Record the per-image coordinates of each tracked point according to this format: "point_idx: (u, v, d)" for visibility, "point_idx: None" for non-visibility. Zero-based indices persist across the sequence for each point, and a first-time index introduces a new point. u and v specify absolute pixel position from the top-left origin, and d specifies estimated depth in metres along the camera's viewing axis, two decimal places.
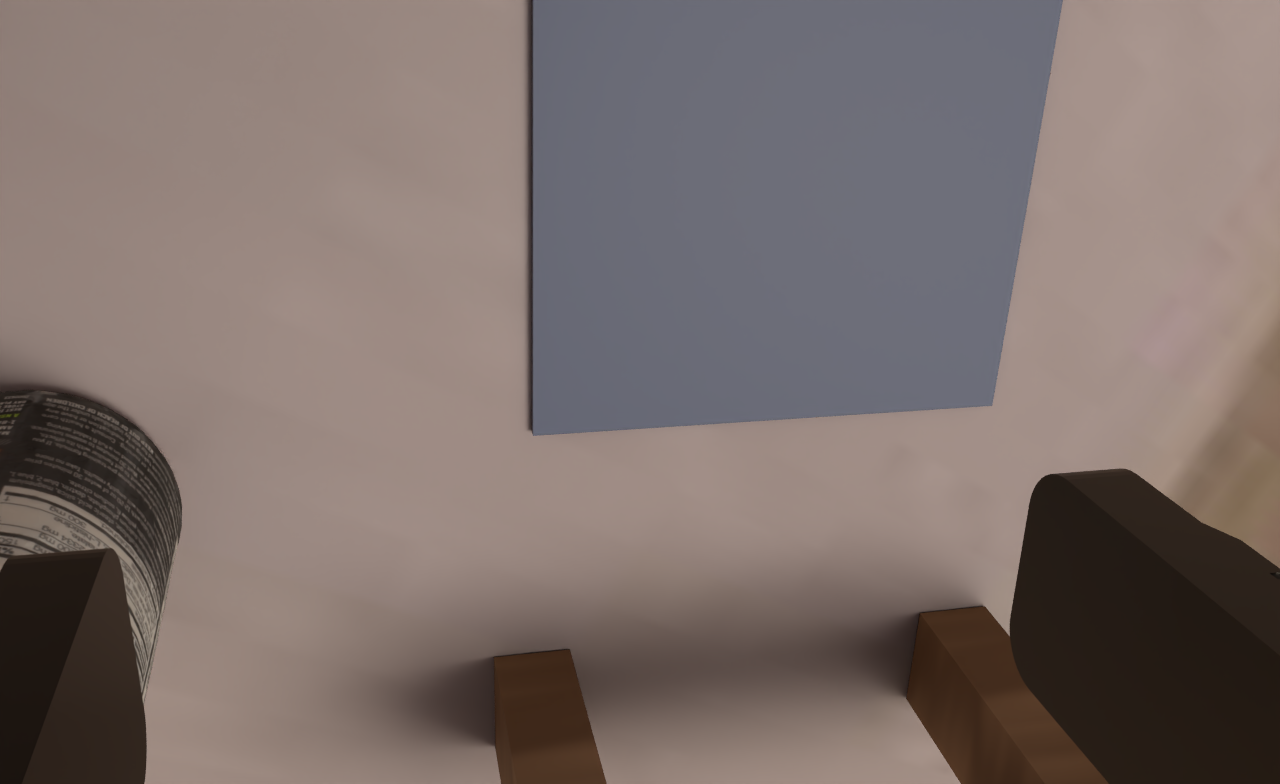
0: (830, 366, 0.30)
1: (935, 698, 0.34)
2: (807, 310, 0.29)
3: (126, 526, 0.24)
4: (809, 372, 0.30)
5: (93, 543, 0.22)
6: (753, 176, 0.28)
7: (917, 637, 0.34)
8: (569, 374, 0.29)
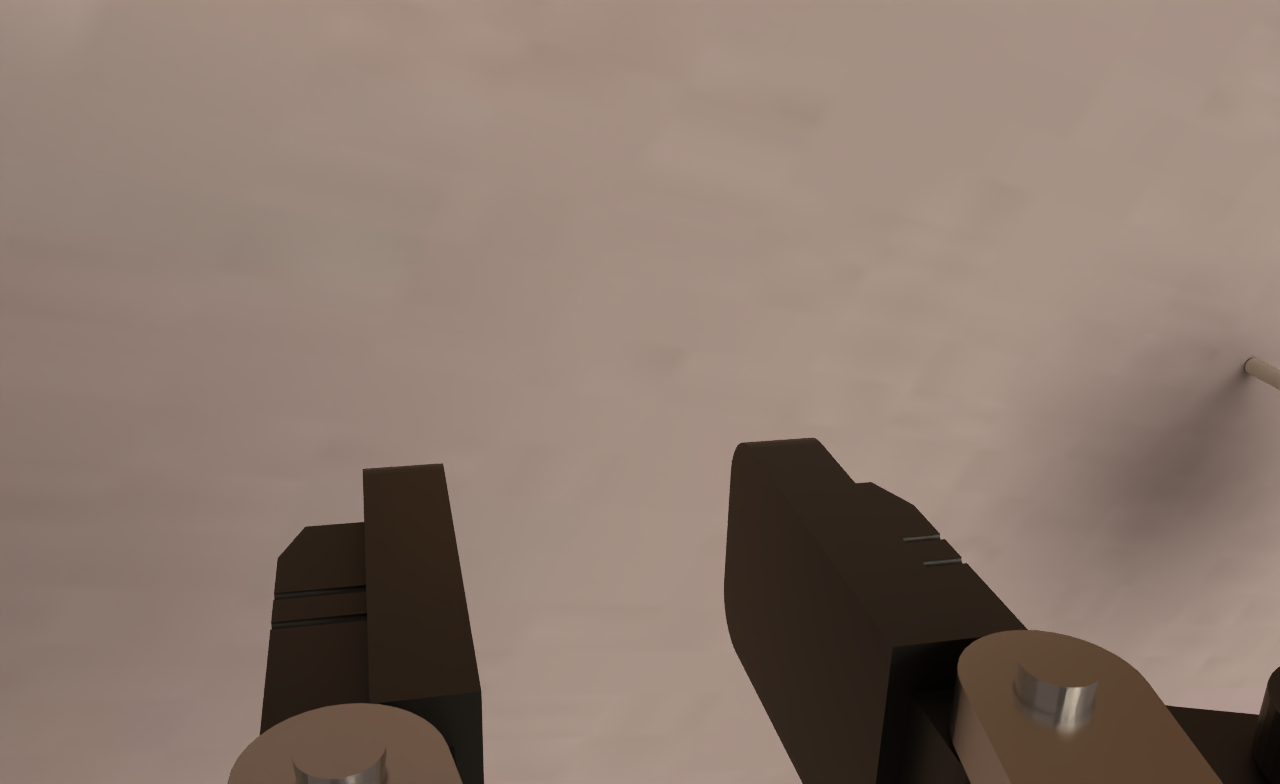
0: None
1: None
2: None
3: None
4: None
5: None
6: None
7: None
8: None
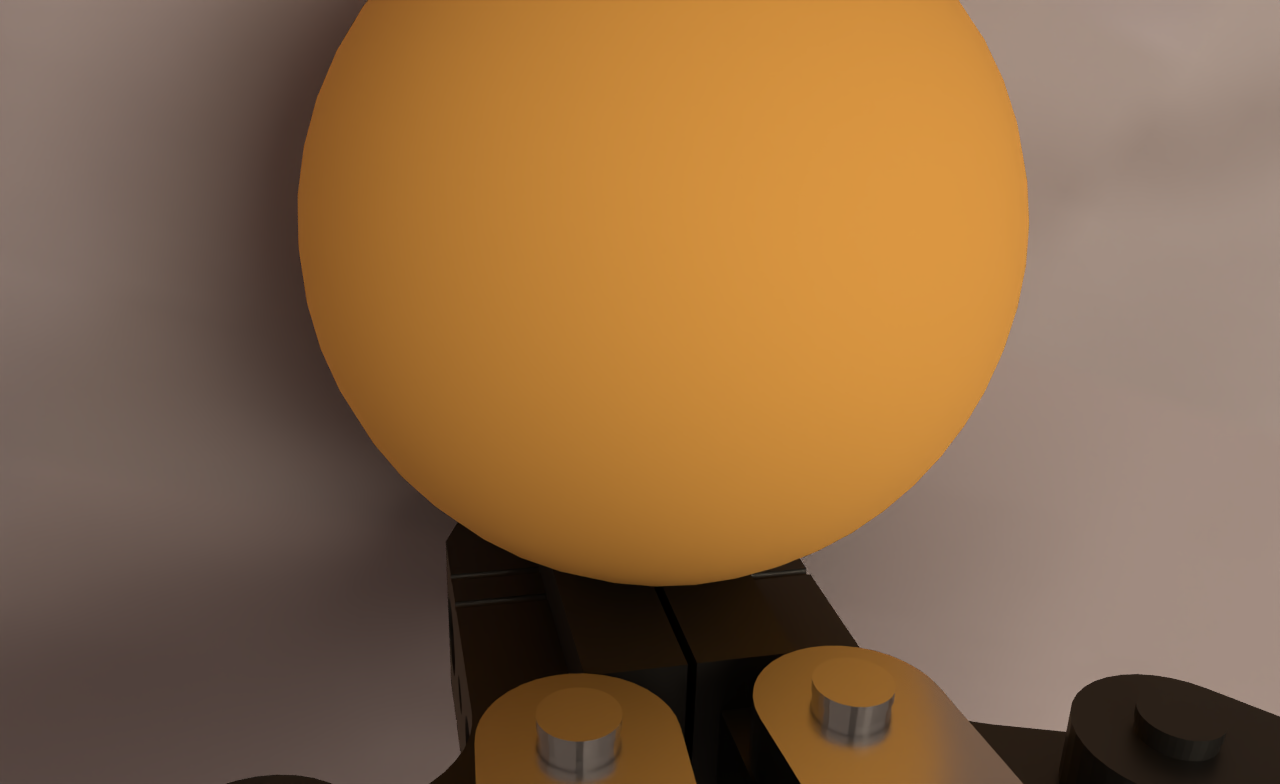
0: None
1: None
2: None
3: None
4: None
5: None
6: None
7: None
8: None
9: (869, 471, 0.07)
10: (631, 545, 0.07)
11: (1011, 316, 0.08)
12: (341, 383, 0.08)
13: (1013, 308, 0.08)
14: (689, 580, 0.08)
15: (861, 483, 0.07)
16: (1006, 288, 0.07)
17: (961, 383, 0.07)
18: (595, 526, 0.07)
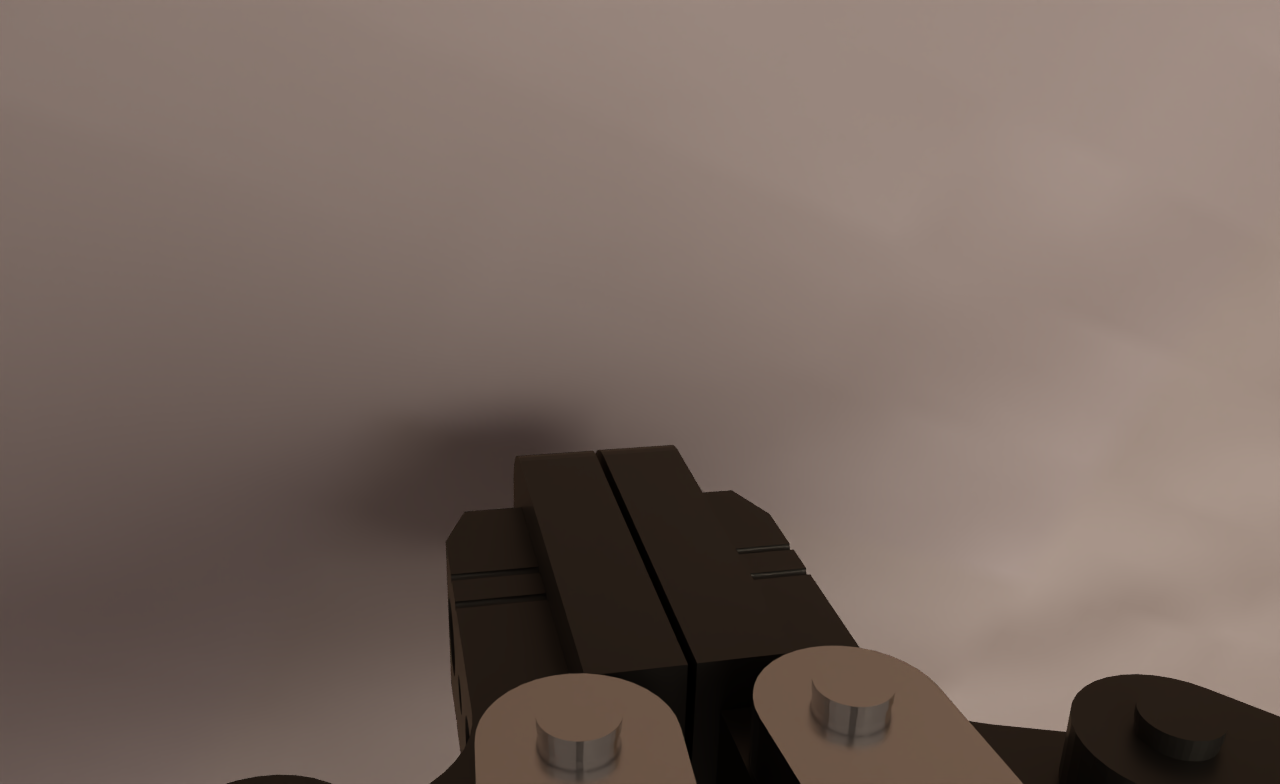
0: None
1: None
2: None
3: None
4: None
5: None
6: None
7: None
8: None
9: None
10: None
11: None
12: None
13: None
14: None
15: None
16: None
17: None
18: None
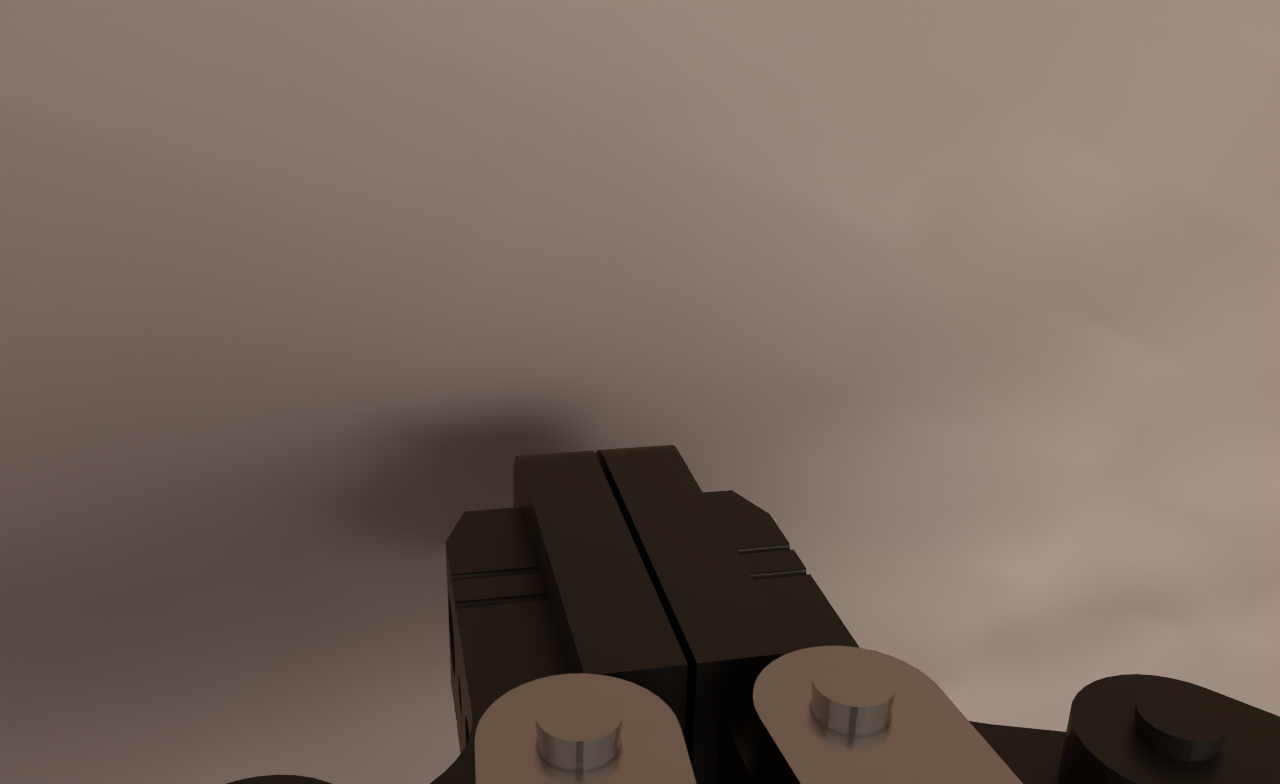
0: None
1: None
2: None
3: None
4: None
5: None
6: None
7: None
8: None
9: None
10: None
11: None
12: None
13: None
14: None
15: None
16: None
17: None
18: None
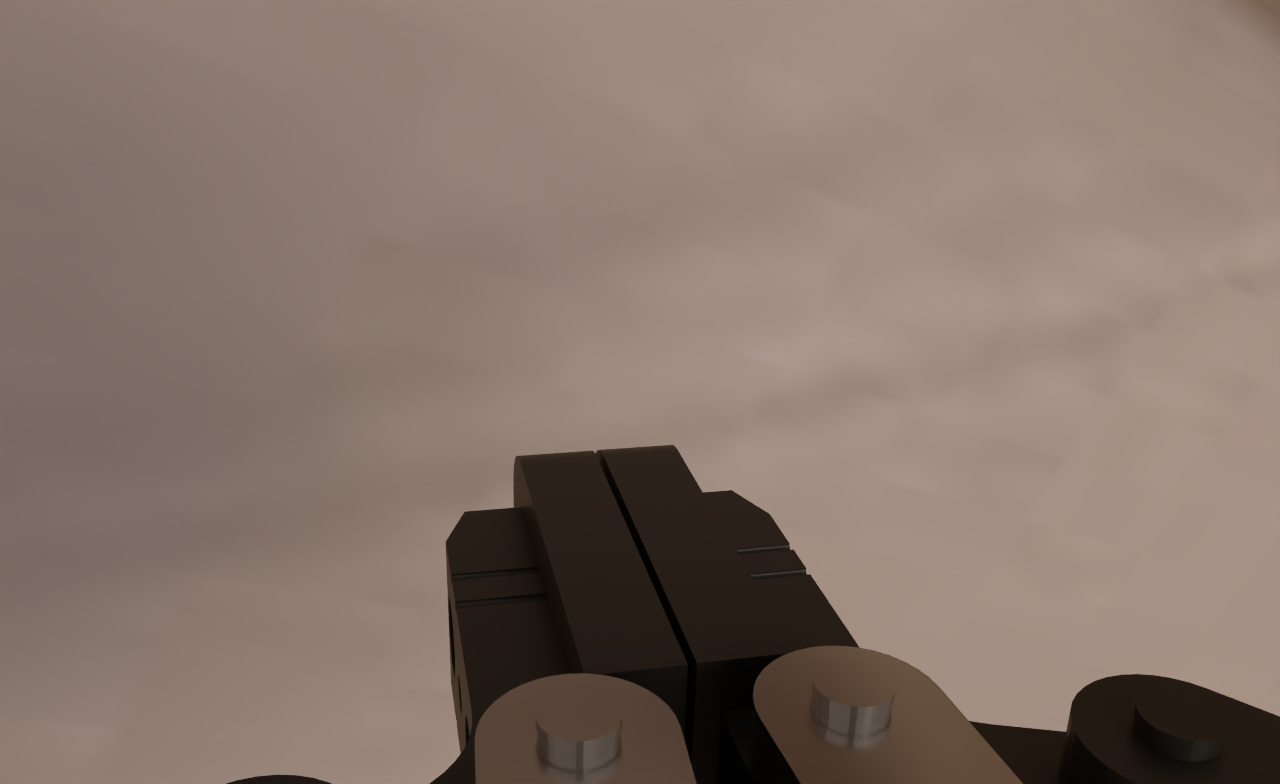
0: None
1: None
2: None
3: None
4: None
5: None
6: None
7: None
8: None
9: None
10: None
11: None
12: None
13: None
14: None
15: None
16: None
17: None
18: None
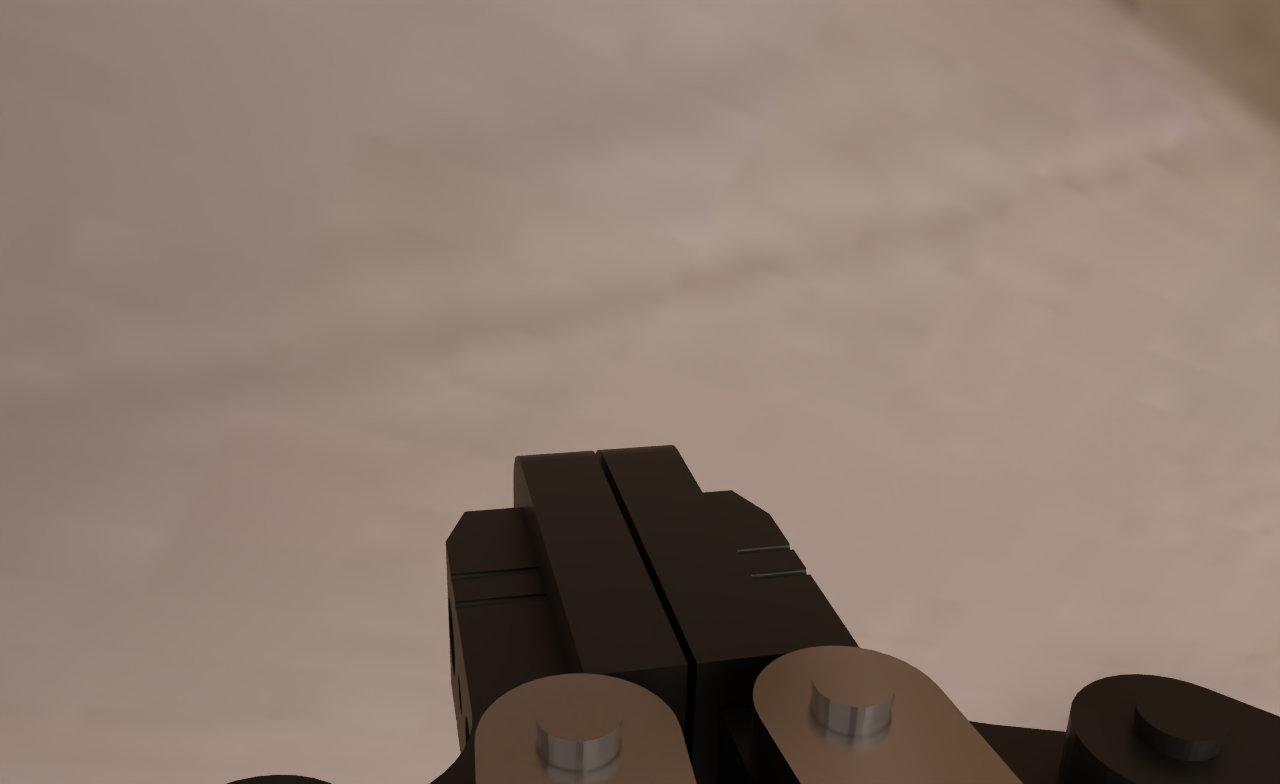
0: None
1: None
2: None
3: None
4: None
5: None
6: None
7: None
8: None
9: None
10: None
11: None
12: None
13: None
14: None
15: None
16: None
17: None
18: None
